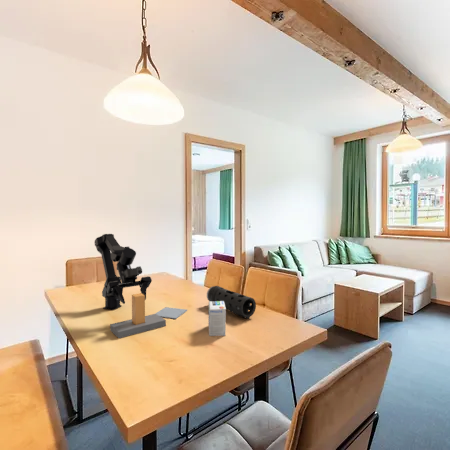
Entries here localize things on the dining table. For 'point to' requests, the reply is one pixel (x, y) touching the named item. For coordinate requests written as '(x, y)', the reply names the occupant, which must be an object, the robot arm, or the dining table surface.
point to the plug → (138, 308)
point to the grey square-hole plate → (137, 326)
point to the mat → (171, 312)
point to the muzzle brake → (233, 301)
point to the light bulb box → (217, 318)
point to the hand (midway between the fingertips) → (135, 301)
